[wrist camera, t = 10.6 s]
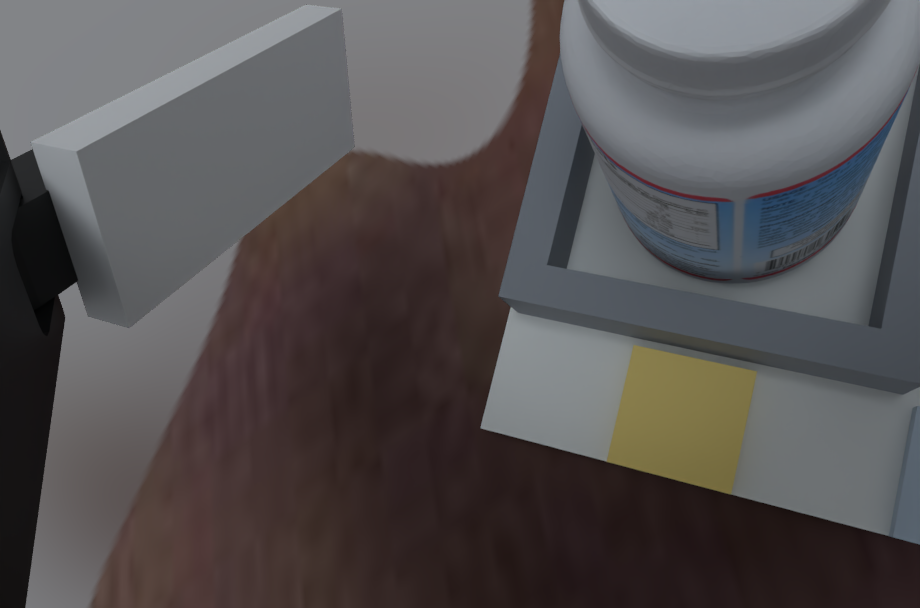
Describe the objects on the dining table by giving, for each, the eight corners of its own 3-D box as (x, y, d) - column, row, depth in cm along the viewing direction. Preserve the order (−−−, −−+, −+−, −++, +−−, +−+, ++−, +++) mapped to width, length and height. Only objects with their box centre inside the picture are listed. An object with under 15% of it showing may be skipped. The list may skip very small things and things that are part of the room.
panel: (1181, -68, 21) (1254, -155, 18) (1078, 585, 19) (1142, 604, 16) (619, -93, 25) (606, -165, 22) (488, 429, 23) (456, 422, 20)
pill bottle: (841, 44, 22) (952, -363, 11) (876, 275, 20) (1039, 61, 10) (604, 86, 23) (506, -233, 13) (623, 301, 22) (530, 143, 12)
